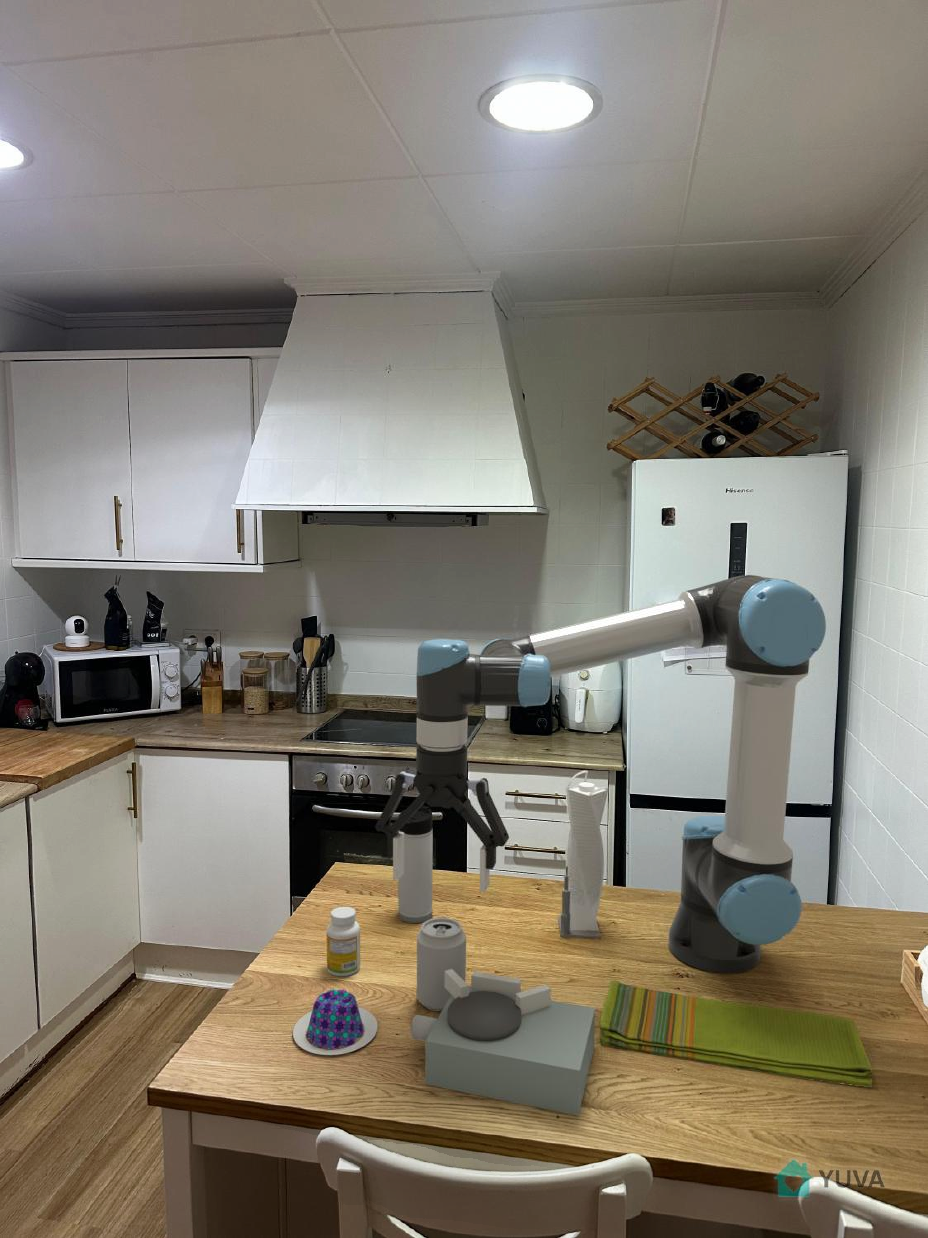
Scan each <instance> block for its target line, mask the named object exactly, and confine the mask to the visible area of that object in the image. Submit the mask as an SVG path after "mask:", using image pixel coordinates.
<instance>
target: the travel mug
mask: <svg viewBox="0 0 928 1238" xmlns="http://www.w3.org/2000/svg"><path fill="white" fill-rule="evenodd" d="M430 808H431V807H430V806H425V805H421V807H420V808H419V809H418V810H417V811H416V812H415V813H414V814H413V815H412V816H411V817H410V819H409V820H408V821H407V822H406V823H405V824H404V825H403V826H402V827H401V828H400V830H399V831H398V833H399V832H404V874H403V875H402V876H401V877H400V878H399V879H398V880H397V882H398V884H397V885H398V888H397V889H398V891H397V892H398V897H397V899H398V900H397V901H398V902H397V903H398V905H397V906H398V908H397V909H398V915H397V916H398V917H399V919H400V920H401V921H403V922H405V923H409V924H421V923H424V922H426V921H427V920H430V919H432V917H433V857H434V856H433V855H434V854H433V852H434V851H433V847H434V846H433V844H434V843H433V841H434V839H433V835H434V834H433V811H432V810H431V809H430ZM405 810H406V809H403V810H402V811H401V812H400V813H399V814H398V818H399V817H400V816H401V815H402V814H403V812H404V811H405Z"/></svg>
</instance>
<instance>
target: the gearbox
mask: <svg viewBox="0 0 928 1238" xmlns="http://www.w3.org/2000/svg"><path fill="white" fill-rule="evenodd" d="M470 979H471V980H470V985H468V983H467V981H466V982H465V981H464V980H463V979H462V978H461V977H460V976H459V975H458V974H457V973H456V972H455V971H454V970H453V969H450V970H446V971H445V986H444V987H445V988H446V989H447V991H448V992H449V993H450V994H451V996H450V998H449V1000H448V1001H447V1003H446V1005H445V1007H444V1009H443V1010H442V1011H440V1013H439V1016H438V1017H437V1018H436V1017H433V1016H432V1017H431V1016H425V1015H420V1014H415V1015H414V1017H413V1019H412V1021H411V1022H412V1023H411V1025H410V1026H411V1027H410V1036H411V1039H414V1040H419V1041H423V1042H425V1044H424V1045H425V1048H424V1049H425V1055H424V1056H425V1057H424V1058H425V1059H424V1060H425V1065H424V1067H425V1072H424V1073H425V1075H424V1076H425V1077H424V1079H425V1080H424V1081H425V1082H424V1083H425V1085H427V1086H432V1087H438V1088H442V1089H447V1090H452V1091H455V1092H462V1093H466V1094H472V1095H477V1096H480V1097H485V1098H491V1099H496V1100H499V1101H506V1102H511V1103H515V1104H519V1105H525V1106H530V1107H534V1108H538V1109H544V1110H550V1111H553V1112H554V1111H555V1112H559V1113H564V1114H567V1115H573V1116H577V1117H579V1116H580V1111H581V1107H582V1101H583V1098H584V1095H585V1094H584V1093H585V1090H586V1085H587V1082H588V1081H587V1080H588V1076H589V1071H590V1068H591V1063H592V1059H593V1054H594V1049H595V1028H596V1027H595V1026H596V1025H595V1023H596V1008H595V1007H592V1006H587V1005H586V1006H585V1005H581V1004H576V1003H575V1004H574V1003H569V1002H562V1001H556V1000H552V997H551V996H552V995H551V994H552V988H551V987H549V986H548V985H547V984H543V985H539V986H537V987H536V986H535V987H533V988H529V989H526V990H524V991H521V990H522V978H517V977H516V978H515V977H513V976H512V977H511V976H504V975H497V974H492V973H487V972H481V971H472V973H471V975H470Z"/></svg>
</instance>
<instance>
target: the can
mask: <svg viewBox="0 0 928 1238" xmlns="http://www.w3.org/2000/svg"><path fill="white" fill-rule="evenodd" d="M466 965H467V935H466V933H465V931H464V930H463V925H462V924H461V923H460V922H459V921H458V920H456V919H453V918H449V917H433V918H430V919H429V920H427V921H425V922H422V924H421V925H420V930H419V931H418V933H417V934H416V998H417V1000H418V1002H419V1003H421V1004H422V1005H423V1006H424V1007H425V1008H427V1009H429V1010H431V1011H434V1012H442V1010H443V1009H444V1007H445V1005H446V1003H447V1001H448V1000H449V998H450V996H451V994H450V993H449V992H448V991H447V989H446V988H445V987H444V986H445V971H446V970H450V969H453V970H454V971H455V972H456V973H457V974H458V975H459V976H460V977H461V978H462V979H463V980H464V981H465V982H466V983H467V980H466V978H467V977H466V976H467V974H466V973H467V966H466Z"/></svg>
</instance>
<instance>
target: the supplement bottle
mask: <svg viewBox="0 0 928 1238" xmlns="http://www.w3.org/2000/svg"><path fill="white" fill-rule="evenodd" d="M356 915H357V913H356V909H354V908H353V907H351V906H339V907H336V908H334V909H332V910H331V912H330V923H329V924H328V925H327V927H326V968H327V971H328V972H329V973H330V974H331V975H333V976H335V977H347V976H352V975H354V974H355V973H358V971H359V970H360V969H361V927H360V924H359V922H357V921H356V920H357V919H356V918H357V916H356Z"/></svg>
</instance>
